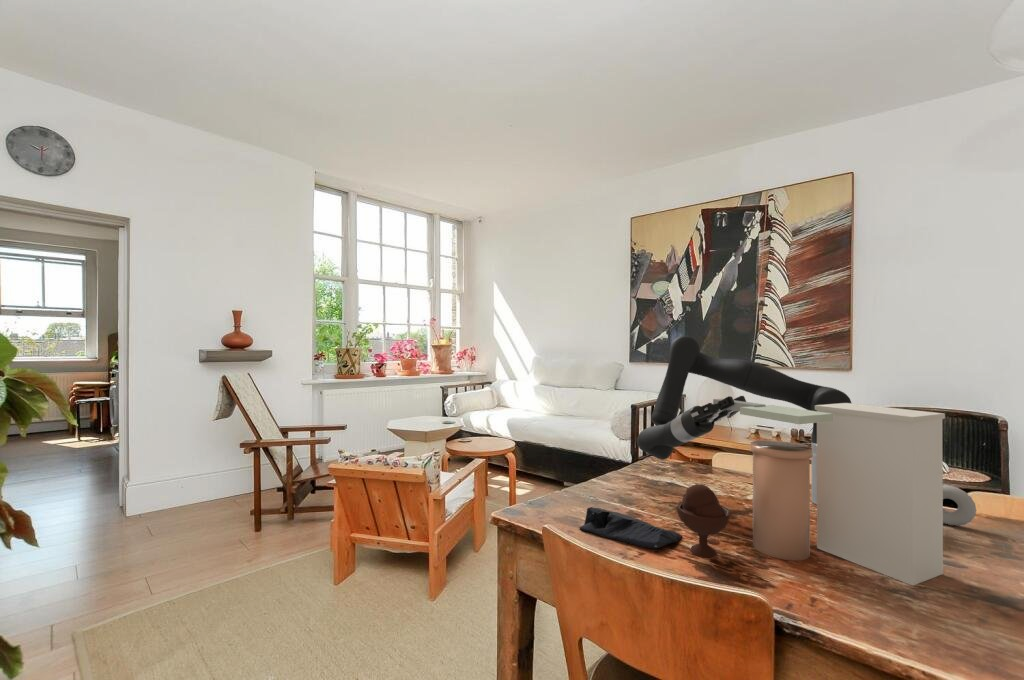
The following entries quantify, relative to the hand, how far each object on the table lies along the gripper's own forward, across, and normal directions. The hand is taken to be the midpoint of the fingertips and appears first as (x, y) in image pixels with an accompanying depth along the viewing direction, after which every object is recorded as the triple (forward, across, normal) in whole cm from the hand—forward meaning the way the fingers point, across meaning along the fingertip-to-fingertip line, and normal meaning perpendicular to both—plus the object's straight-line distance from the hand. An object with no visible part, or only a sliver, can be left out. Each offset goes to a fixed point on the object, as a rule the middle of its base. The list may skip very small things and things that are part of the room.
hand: (738, 399), depth 115 cm
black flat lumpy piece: (-25, -25, +24) cm, 42 cm away
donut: (+1, +53, +37) cm, 65 cm away
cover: (+4, 0, +5) cm, 7 cm away
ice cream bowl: (-12, -17, +31) cm, 37 cm away
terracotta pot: (-6, 0, +33) cm, 34 cm away
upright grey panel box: (+4, +14, +39) cm, 42 cm away
